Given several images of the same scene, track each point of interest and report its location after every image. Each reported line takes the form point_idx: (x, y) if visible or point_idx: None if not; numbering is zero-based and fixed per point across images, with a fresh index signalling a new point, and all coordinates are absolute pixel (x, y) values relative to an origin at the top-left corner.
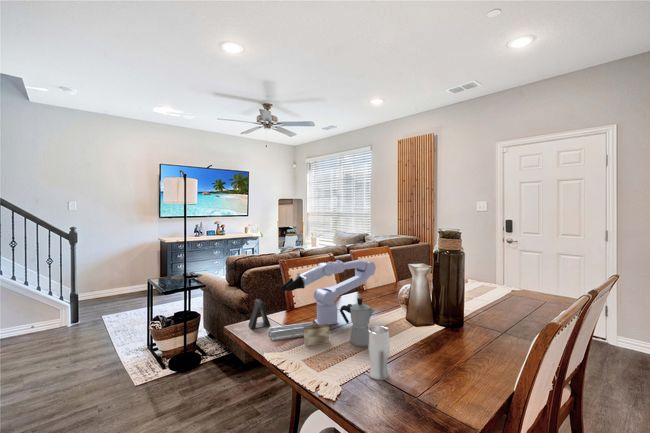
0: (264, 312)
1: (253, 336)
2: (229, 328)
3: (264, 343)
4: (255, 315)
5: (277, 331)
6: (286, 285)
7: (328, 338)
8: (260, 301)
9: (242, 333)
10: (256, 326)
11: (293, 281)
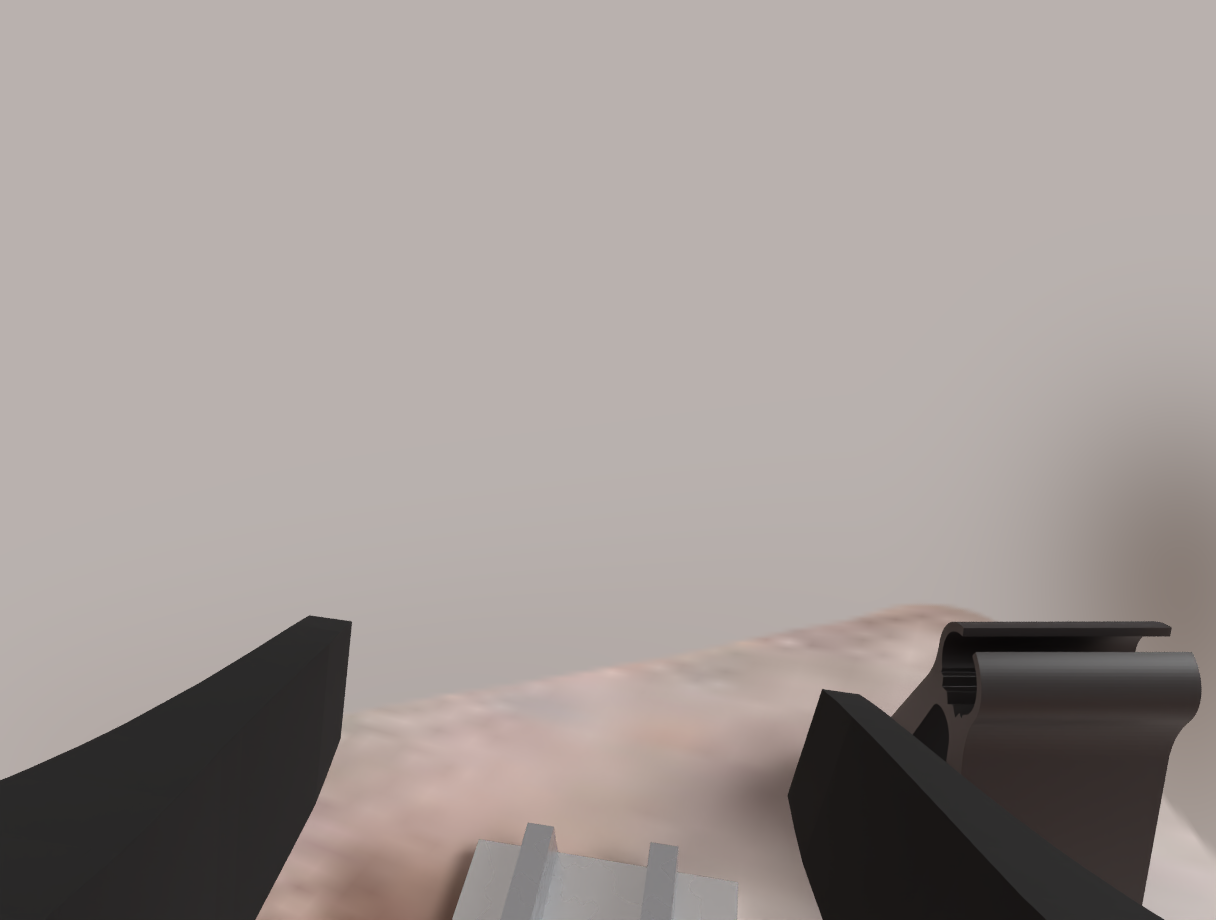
0: None
1: (685, 730)
2: (943, 606)
3: (482, 775)
4: (912, 698)
5: (505, 901)
6: (908, 871)
7: None
8: (1037, 656)
9: (794, 668)
10: None
11: (182, 775)
